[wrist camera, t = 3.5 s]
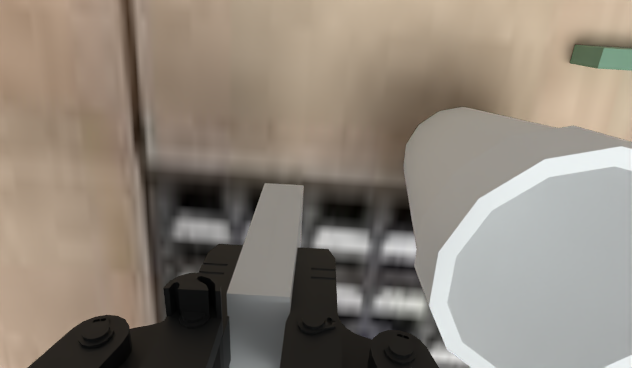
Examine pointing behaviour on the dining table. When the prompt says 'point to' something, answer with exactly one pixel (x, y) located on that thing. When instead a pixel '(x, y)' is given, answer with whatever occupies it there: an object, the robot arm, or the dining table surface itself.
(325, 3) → the dining table surface
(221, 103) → the dining table surface
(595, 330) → the foam cup
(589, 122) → the dining table surface
